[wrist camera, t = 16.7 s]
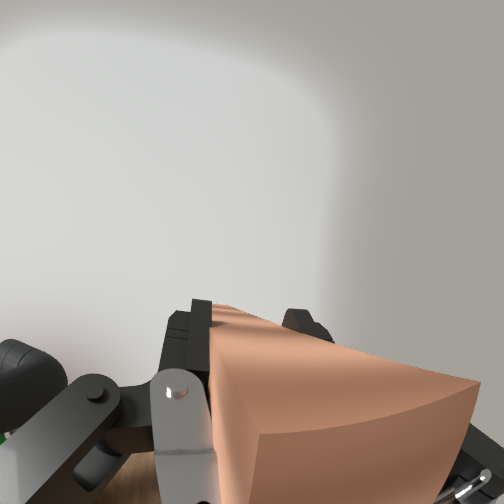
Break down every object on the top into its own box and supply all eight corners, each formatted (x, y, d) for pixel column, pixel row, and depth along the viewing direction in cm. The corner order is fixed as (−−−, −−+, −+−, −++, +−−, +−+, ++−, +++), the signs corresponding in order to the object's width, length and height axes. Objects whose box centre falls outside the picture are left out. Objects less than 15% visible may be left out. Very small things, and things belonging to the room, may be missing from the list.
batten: (414, 532, 2) (481, 381, 2) (233, 585, 1) (258, 433, 2) (225, 334, 27) (228, 305, 27) (196, 331, 26) (199, 302, 27)
